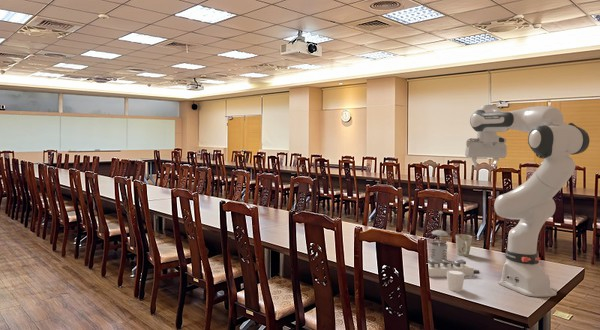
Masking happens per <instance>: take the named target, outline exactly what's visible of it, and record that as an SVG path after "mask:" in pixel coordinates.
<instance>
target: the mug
mask: <svg viewBox="0 0 600 330" xmlns="http://www.w3.org/2000/svg"><path fill="white" fill-rule="evenodd" d="M472 241H473V236H472V235H470V234H460V233H459V234H458V233H457V234H455V248H456V254H457V255H458V256H462V257H467V256H469V255H470V251H471V247H472Z"/></svg>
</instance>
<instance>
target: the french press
mask: <svg viewBox="0 0 600 330" xmlns="http://www.w3.org/2000/svg"><path fill="white" fill-rule="evenodd" d="M438 214H440V218H439V219H440V220H439V225H441V221H442V220H441V219H442V214H444V212H443V211H441V210H440V211H439V212H438ZM431 234H432V235H434V236H437V238H435V239H432V240H431V241H432V242H431V243H430V255H429V256H430V257H428V260H431V261H435V262H438V263H440V261H441V260H444V261H449V260H448V244H447V243H448V242H447V240H444V239H441V237H448V236H449V233H448V232H446V231H444V230H442V229H436V230H433V231H431Z"/></svg>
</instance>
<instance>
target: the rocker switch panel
mask: <svg viewBox="0 0 600 330" xmlns="http://www.w3.org/2000/svg"><path fill="white" fill-rule="evenodd" d="M427 264H428V267H429V276H430V277H431V278H432V277H447V271H448V270H457V271H461V272H464V273H465V275H464V277H473V276H474V274H479V273H480V270H479V269H478V270H477V269H474V268H475V267H473V266H471V265H469V264H467V263H466V264H460V266H455V265H454V264H453V266H451V264H447V265H444V264H442V263H440V266H438V264H434V265H430V264H429V263H427ZM430 277H429V278H430Z"/></svg>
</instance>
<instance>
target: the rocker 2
mask: <svg viewBox="0 0 600 330" xmlns="http://www.w3.org/2000/svg"><path fill="white" fill-rule="evenodd" d="M452 263H453V264H454V265H455V266H460V264H467V261H465V260H463V259H459V260H455V261H452Z"/></svg>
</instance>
